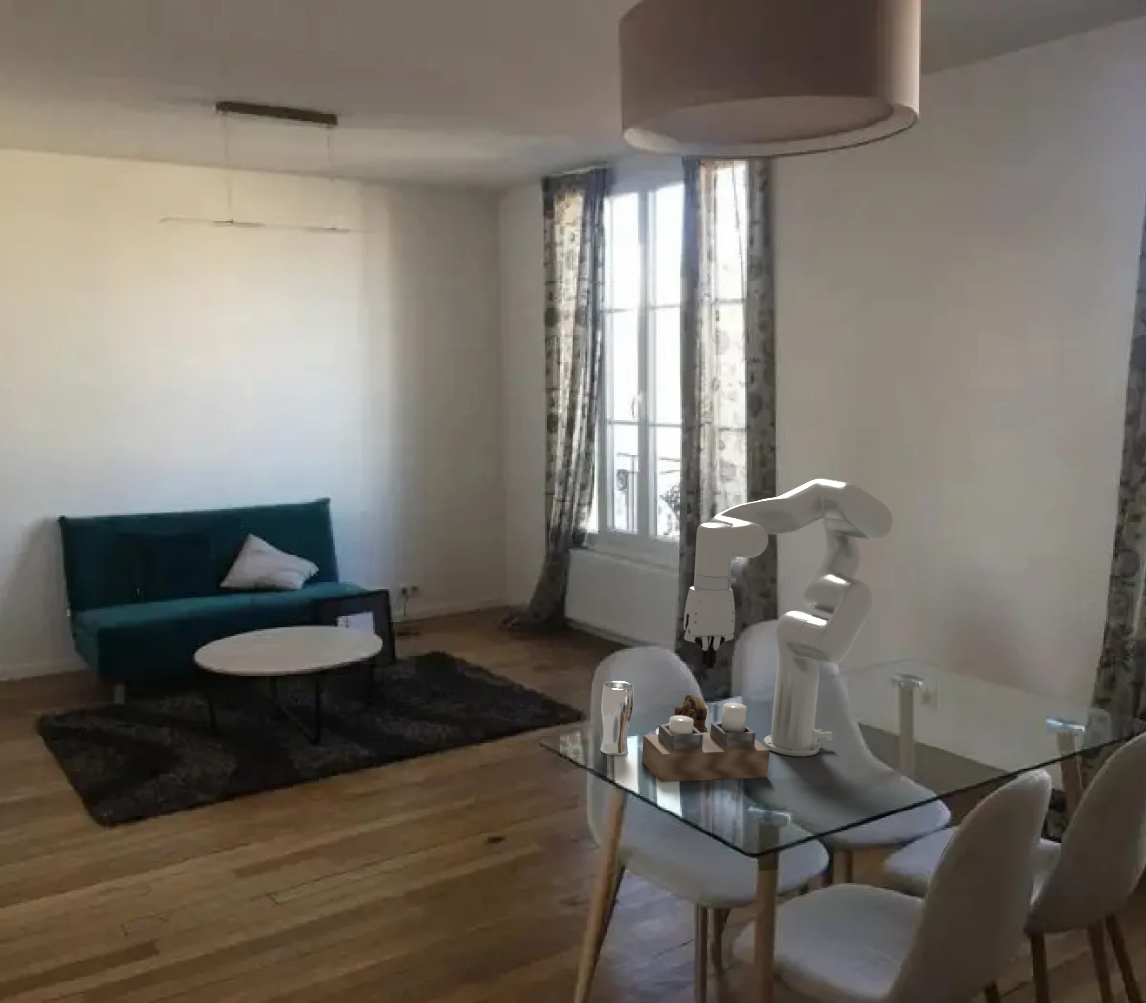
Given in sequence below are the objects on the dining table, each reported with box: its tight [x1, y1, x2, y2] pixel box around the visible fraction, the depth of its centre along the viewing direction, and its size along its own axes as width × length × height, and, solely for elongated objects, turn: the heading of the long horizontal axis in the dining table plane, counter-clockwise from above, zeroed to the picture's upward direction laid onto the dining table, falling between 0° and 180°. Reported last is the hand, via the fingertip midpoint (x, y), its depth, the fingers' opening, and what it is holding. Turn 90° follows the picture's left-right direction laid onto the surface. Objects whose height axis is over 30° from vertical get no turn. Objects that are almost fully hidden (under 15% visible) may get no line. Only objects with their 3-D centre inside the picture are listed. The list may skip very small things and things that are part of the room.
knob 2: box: [721, 702, 748, 732], centre depth 254 cm, size 5×5×5 cm
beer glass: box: [600, 680, 634, 757], centre depth 260 cm, size 7×7×15 cm
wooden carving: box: [673, 694, 708, 733], centre depth 272 cm, size 16×5×10 cm, turn 18°
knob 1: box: [669, 715, 694, 734], centre depth 250 cm, size 5×5×5 cm
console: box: [641, 722, 771, 783], centre depth 253 cm, size 24×12×9 cm, turn 106°
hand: (707, 667), depth 250 cm, fingers closed
